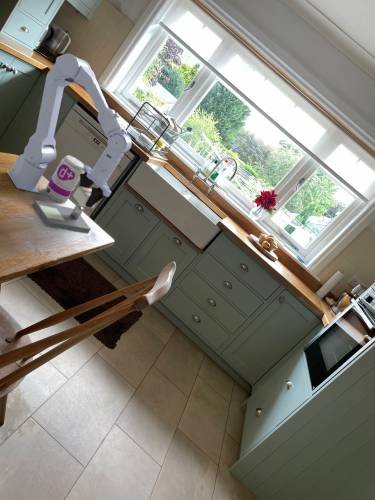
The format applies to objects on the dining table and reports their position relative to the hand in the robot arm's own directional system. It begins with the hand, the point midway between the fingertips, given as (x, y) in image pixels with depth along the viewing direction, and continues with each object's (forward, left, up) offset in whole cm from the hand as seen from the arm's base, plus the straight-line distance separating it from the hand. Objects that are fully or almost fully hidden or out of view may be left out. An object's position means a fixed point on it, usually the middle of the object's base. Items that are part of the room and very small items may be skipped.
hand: (83, 200), depth 125 cm
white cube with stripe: (0, 0, 0) cm, 0 cm away
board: (0, -4, -8) cm, 9 cm away
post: (0, 0, -7) cm, 7 cm away
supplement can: (-14, +1, -9) cm, 16 cm away
